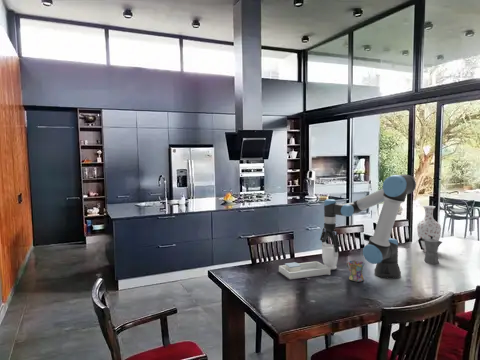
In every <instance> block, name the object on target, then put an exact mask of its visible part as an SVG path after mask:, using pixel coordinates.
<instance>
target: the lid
mask: <svg viewBox="0 0 480 360" xmlns="http://www.w3.org/2000/svg"><path fill="white" fill-rule="evenodd" d="M284 265H286V266H288V267H289V268H293V267H301V265H299V264H298V262H295V261H293V262H287V263H284Z"/></svg>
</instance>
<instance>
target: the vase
mask: <svg viewBox="0 0 480 360" xmlns="http://www.w3.org/2000/svg"><path fill="white" fill-rule="evenodd" d="M422 208H424V211H425V212H424V214H425V215H424V218H423V219H422V220H421V221H419V222H418V223H417V227H416V230H417V237H418V240H419V239H420V238H424V239H431V237H430V236H433V239H436V240H439V241H440V239H441V233H442V232H441V231H442V228H441V224H440V222H438V221H436V219H434V210H435V208H436V206H434V205H422ZM421 245H422V248H423V249H424V250H421V251H422V252H424V253H426V247H425V241H421Z"/></svg>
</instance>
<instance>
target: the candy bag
mask: <svg viewBox="0 0 480 360" xmlns="http://www.w3.org/2000/svg"><path fill="white" fill-rule="evenodd" d="M364 266H365V262H364V261H361V260H356V259H355V260H348V262H347V263H346V267H347V270H348V271H349V273H350V274H349V276H348V279H349V280H350V281H352V282H363V281H364V280H365V279H364V276H363V270H364Z"/></svg>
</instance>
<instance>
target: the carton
mask: <svg viewBox="0 0 480 360" xmlns="http://www.w3.org/2000/svg"><path fill="white" fill-rule="evenodd" d="M284 265H285V264H284ZM285 269H286V270H288V271H289V272H298V271H300V267H293V268H289V267H288V266H286V265H285Z"/></svg>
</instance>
